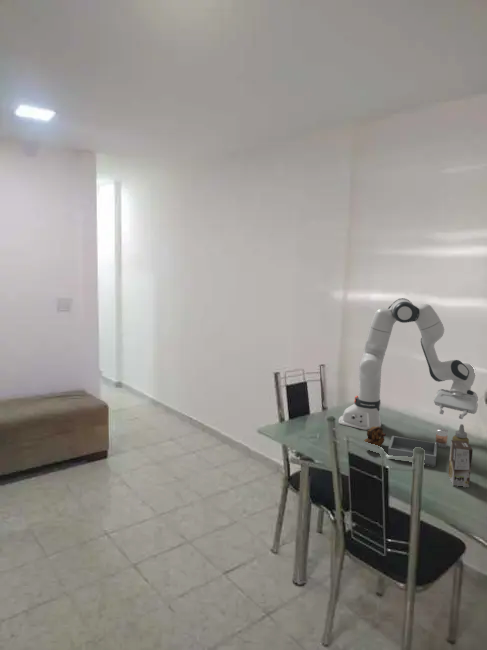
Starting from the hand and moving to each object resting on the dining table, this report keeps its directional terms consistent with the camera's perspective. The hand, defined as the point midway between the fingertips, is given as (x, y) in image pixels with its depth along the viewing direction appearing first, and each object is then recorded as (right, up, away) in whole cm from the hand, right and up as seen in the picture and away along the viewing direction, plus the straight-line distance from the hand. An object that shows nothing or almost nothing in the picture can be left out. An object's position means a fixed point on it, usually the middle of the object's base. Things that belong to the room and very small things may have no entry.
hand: (450, 415), depth 233 cm
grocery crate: (-25, -15, -17) cm, 34 cm away
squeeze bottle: (-7, -17, -24) cm, 30 cm away
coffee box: (-15, -19, -41) cm, 47 cm away
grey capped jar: (-7, -13, -5) cm, 16 cm away
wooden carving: (-40, -14, -8) cm, 43 cm away
